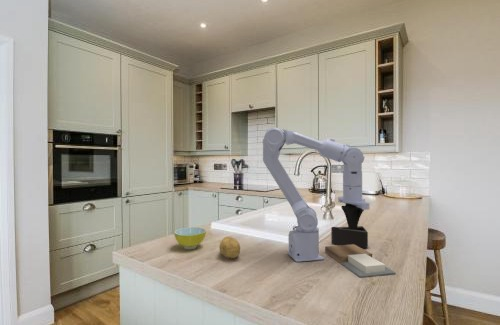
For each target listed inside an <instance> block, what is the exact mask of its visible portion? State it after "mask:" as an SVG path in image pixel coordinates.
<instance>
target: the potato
mask: <svg viewBox="0 0 500 325" xmlns="http://www.w3.org/2000/svg"><path fill="white" fill-rule="evenodd" d="M219 252H220V254H221V255H223V256H224V257H226V258H228V259H235V258H237V257H238V256H239V254H240V253H241V245H240V242H239V241H238V240H237V239H235V237H233V236H225V237H224V238H222V240H221V241H220V244H219Z"/></svg>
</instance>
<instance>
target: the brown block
mask: <svg viewBox="0 0 500 325" xmlns="http://www.w3.org/2000/svg"><path fill="white" fill-rule="evenodd" d="M324 253H325V254H327V255H328V256H330V257H331V258H332V259H333V260H335V261H337V263H339V264H341V262H348V255H356V254H367V255H369V256H370V257H372V258H373V253H371V252H369V251H368V250H367V249H363V248H360V247H358V246H356V245H354V244H353V245H330V246H329V245H328V246H324Z"/></svg>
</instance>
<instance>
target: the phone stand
mask: <svg viewBox="0 0 500 325" xmlns="http://www.w3.org/2000/svg"><path fill="white" fill-rule="evenodd" d="M330 230H331V231H330V232H331V233H330V234H331V235H330V237H331V238H330V239H331V244H332V245H333V246H339V245H353V244H354V245H356V246H358V247H360V248H362V249H364V250H368V249H369V246H368V245H369V240H368V239H369V238H368V237H369V233H368V231H367V229H366V228H365V227H364V226H363V225H362V226H361V225H360V226H359V225H358V226H357V229H350V228H349V227H348V226H339V227H338V226H331V229H330Z"/></svg>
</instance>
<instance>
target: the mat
mask: <svg viewBox="0 0 500 325" xmlns="http://www.w3.org/2000/svg"><path fill="white" fill-rule="evenodd" d="M340 265H342V267H344V268H346V269H347V270H349V271H350V272H351V273H353V274H354V275H355V276H357V277H359V278H360V279H361V278H370V277H371V278H372V277H380V276H381V277H382V276H389V275H396V274H397V273H396V271H394V270H392V269H391V268H389V267H387V266H385V272H378V273H368V274H366V273H364V272H363V271H361V270H360V269H358V268H357V267H355V266H354V265H352V264H351V263H349V262H341V263H340Z"/></svg>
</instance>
